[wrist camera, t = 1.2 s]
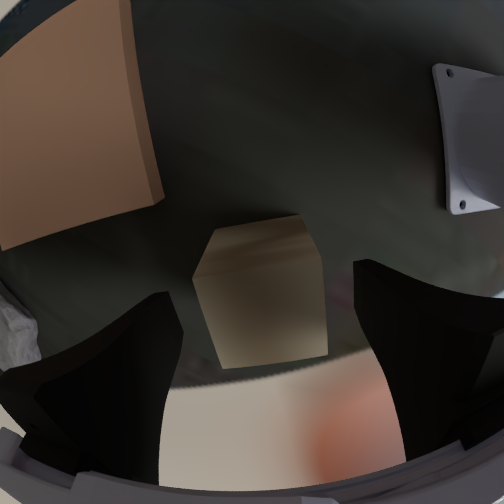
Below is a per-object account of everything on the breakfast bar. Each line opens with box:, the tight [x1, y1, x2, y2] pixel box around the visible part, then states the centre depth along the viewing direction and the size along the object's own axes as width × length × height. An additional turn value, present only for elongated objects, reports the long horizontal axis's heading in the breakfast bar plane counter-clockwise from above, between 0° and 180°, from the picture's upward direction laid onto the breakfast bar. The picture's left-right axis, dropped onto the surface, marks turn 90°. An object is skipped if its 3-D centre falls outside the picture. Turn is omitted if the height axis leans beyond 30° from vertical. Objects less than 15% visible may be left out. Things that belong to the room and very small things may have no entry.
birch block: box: [192, 215, 328, 369], centre depth 12 cm, size 4×4×5 cm
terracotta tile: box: [0, 0, 165, 251], centre depth 11 cm, size 12×12×2 cm
